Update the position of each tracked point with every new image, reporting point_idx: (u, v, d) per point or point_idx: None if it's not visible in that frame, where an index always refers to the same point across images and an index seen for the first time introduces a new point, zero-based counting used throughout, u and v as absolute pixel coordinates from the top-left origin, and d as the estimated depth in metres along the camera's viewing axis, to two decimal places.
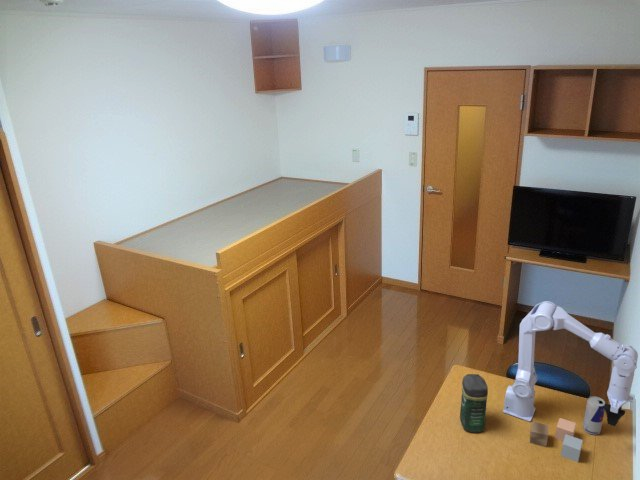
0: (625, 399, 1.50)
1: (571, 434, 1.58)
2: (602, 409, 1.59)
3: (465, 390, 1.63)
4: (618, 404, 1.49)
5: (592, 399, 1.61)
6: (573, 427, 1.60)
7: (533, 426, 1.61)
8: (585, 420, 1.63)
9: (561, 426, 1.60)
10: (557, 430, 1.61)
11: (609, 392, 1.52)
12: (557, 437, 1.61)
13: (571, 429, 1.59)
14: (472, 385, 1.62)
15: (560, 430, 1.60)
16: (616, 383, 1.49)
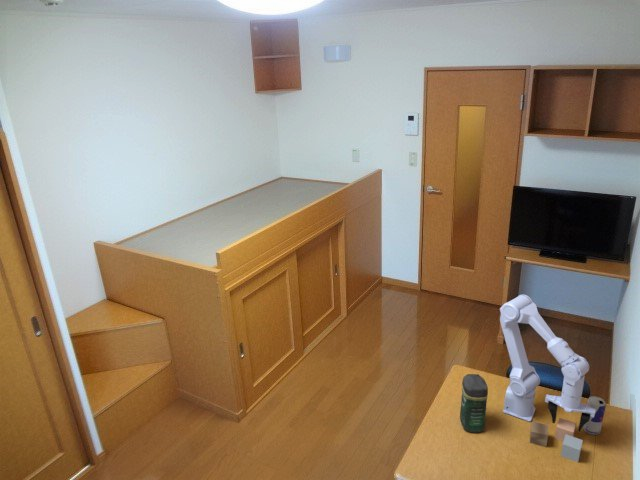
0: (562, 404, 1.57)
1: (571, 434, 1.58)
2: (602, 409, 1.58)
3: (465, 390, 1.63)
4: (553, 400, 1.60)
5: (592, 400, 1.61)
6: (573, 427, 1.60)
7: (533, 426, 1.61)
8: None
9: (561, 426, 1.60)
10: (557, 430, 1.61)
11: None
12: (557, 437, 1.61)
13: (571, 429, 1.59)
14: (472, 385, 1.62)
15: (560, 430, 1.60)
16: (564, 391, 1.55)
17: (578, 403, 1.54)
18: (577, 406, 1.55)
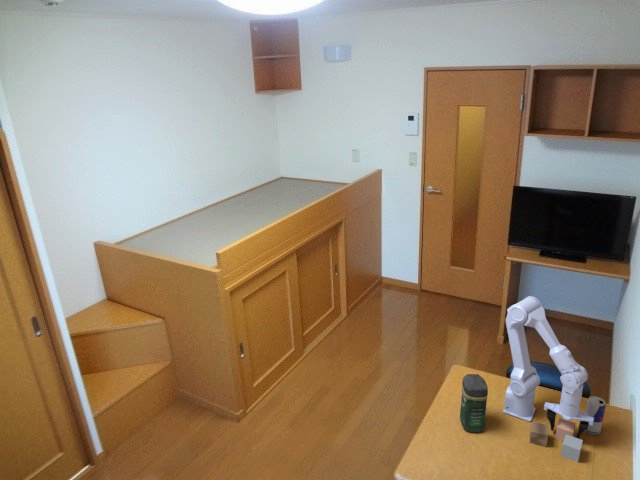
0: (561, 412, 1.58)
1: (571, 434, 1.58)
2: (602, 409, 1.59)
3: (465, 390, 1.63)
4: (552, 407, 1.61)
5: (592, 399, 1.61)
6: (573, 427, 1.60)
7: (533, 426, 1.61)
8: None
9: (561, 427, 1.60)
10: (557, 430, 1.60)
11: None
12: (557, 437, 1.61)
13: (571, 429, 1.59)
14: (472, 385, 1.62)
15: (560, 430, 1.60)
16: (563, 399, 1.56)
17: (576, 411, 1.56)
18: (575, 414, 1.56)
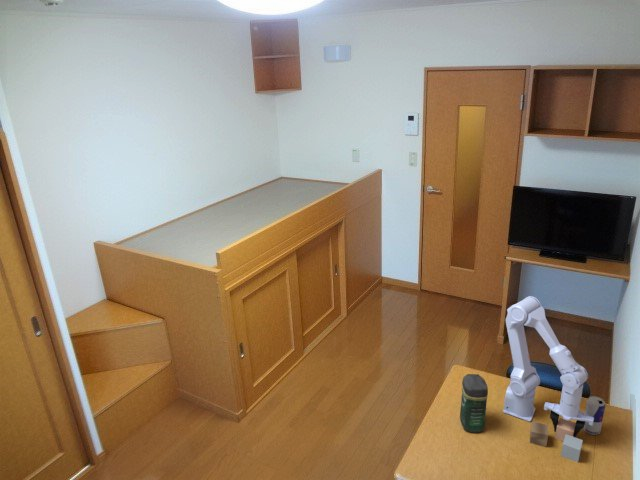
0: (561, 412, 1.58)
1: (571, 434, 1.58)
2: (602, 409, 1.59)
3: (465, 390, 1.63)
4: (552, 407, 1.61)
5: (592, 400, 1.61)
6: (573, 427, 1.60)
7: (533, 426, 1.61)
8: None
9: (561, 426, 1.60)
10: (557, 429, 1.60)
11: None
12: (557, 437, 1.61)
13: (571, 429, 1.59)
14: (472, 385, 1.62)
15: (561, 429, 1.60)
16: (563, 399, 1.56)
17: (576, 411, 1.56)
18: (575, 414, 1.56)
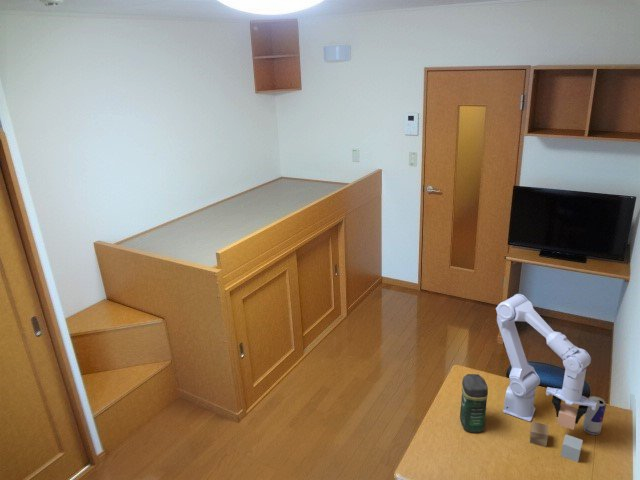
0: (563, 396, 1.56)
1: (573, 419, 1.56)
2: (602, 409, 1.59)
3: (465, 390, 1.63)
4: (554, 392, 1.59)
5: (592, 399, 1.61)
6: (575, 412, 1.57)
7: (533, 426, 1.61)
8: (585, 420, 1.63)
9: (563, 412, 1.58)
10: (559, 415, 1.58)
11: None
12: (559, 423, 1.59)
13: (573, 415, 1.57)
14: (472, 385, 1.62)
15: (563, 415, 1.58)
16: (565, 383, 1.54)
17: (579, 396, 1.53)
18: (578, 399, 1.54)
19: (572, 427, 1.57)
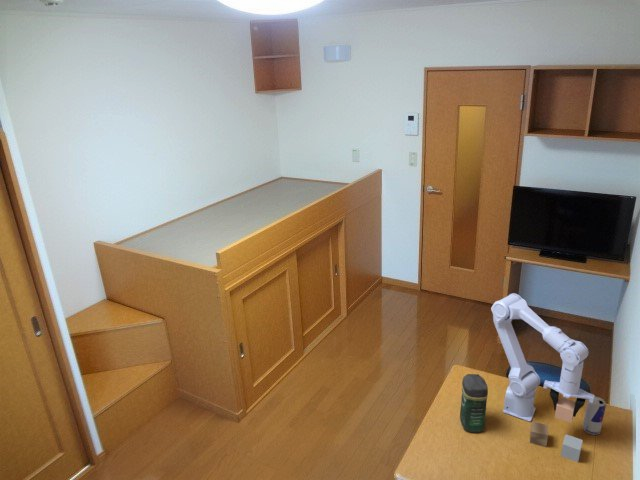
0: (561, 389, 1.56)
1: (571, 412, 1.56)
2: (602, 409, 1.58)
3: (465, 390, 1.63)
4: (552, 386, 1.58)
5: None
6: (573, 405, 1.57)
7: (533, 426, 1.61)
8: (585, 420, 1.63)
9: (560, 405, 1.58)
10: (557, 408, 1.58)
11: None
12: (557, 416, 1.59)
13: (571, 408, 1.56)
14: (472, 385, 1.62)
15: (560, 408, 1.57)
16: (563, 376, 1.54)
17: (577, 389, 1.53)
18: (576, 392, 1.53)
19: (570, 420, 1.57)
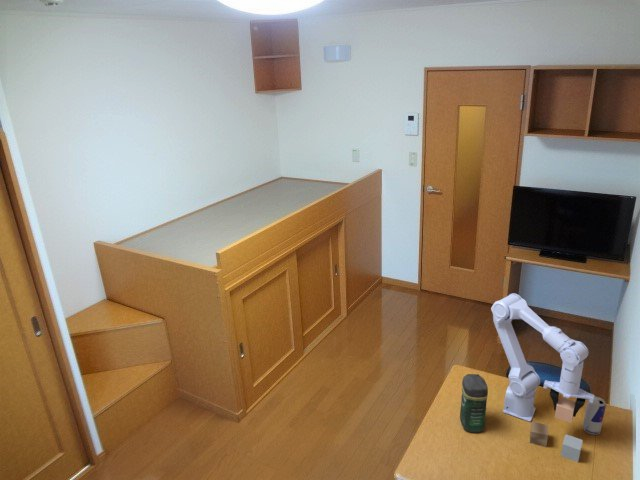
0: (561, 389, 1.56)
1: (571, 412, 1.56)
2: (602, 409, 1.58)
3: (465, 390, 1.63)
4: (552, 386, 1.58)
5: None
6: (573, 405, 1.57)
7: (533, 426, 1.61)
8: (585, 420, 1.63)
9: (560, 405, 1.58)
10: (557, 408, 1.58)
11: None
12: (557, 416, 1.59)
13: (571, 408, 1.56)
14: (472, 385, 1.62)
15: (560, 408, 1.57)
16: (563, 376, 1.54)
17: (577, 389, 1.53)
18: (576, 392, 1.53)
19: (570, 420, 1.57)
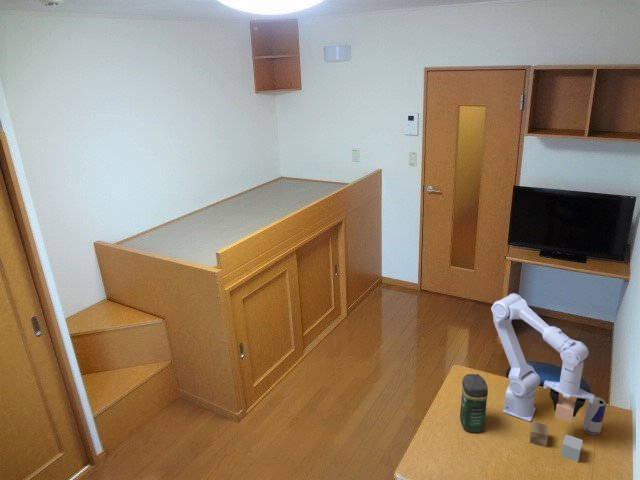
0: (561, 389, 1.56)
1: (571, 412, 1.56)
2: (602, 409, 1.59)
3: (465, 390, 1.63)
4: (552, 386, 1.58)
5: None
6: (573, 405, 1.57)
7: (533, 426, 1.61)
8: (585, 420, 1.63)
9: (560, 405, 1.58)
10: (557, 408, 1.58)
11: None
12: (557, 416, 1.59)
13: (571, 408, 1.56)
14: (472, 385, 1.62)
15: (560, 408, 1.57)
16: (563, 376, 1.54)
17: (577, 389, 1.53)
18: (576, 392, 1.53)
19: (570, 420, 1.57)
